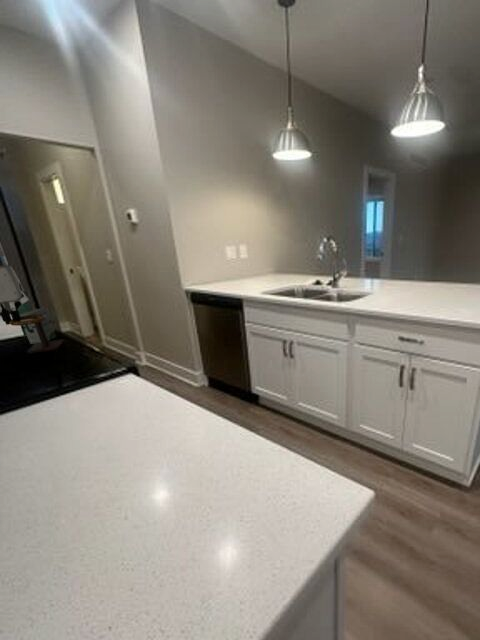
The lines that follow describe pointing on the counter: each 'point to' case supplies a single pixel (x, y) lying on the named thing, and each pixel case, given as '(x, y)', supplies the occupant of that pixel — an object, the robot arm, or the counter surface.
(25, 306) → the spray can
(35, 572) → the counter surface
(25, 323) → the ring
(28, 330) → the ink box
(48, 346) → the peg on round base
